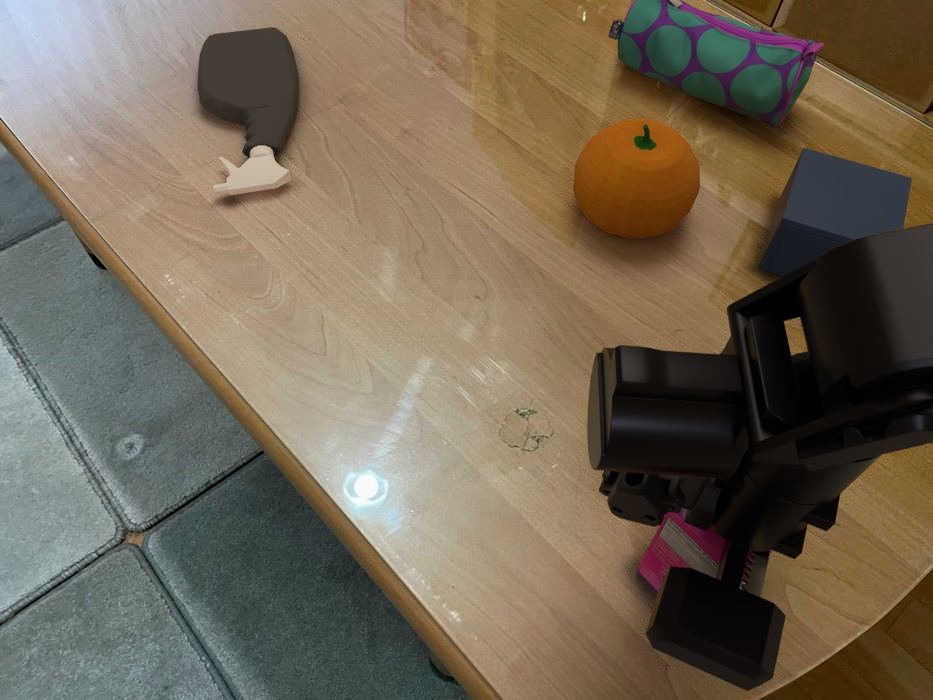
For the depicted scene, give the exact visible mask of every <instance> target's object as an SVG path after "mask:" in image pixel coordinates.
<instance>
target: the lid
mask: <svg viewBox="0 0 933 700" xmlns="http://www.w3.org/2000/svg"><path fill="white" fill-rule="evenodd" d="M798 159H799V161H798V160H797V161H798V164H797V167H796V171H795V174H794V177H793V181H792V184H791V187H790V191H789V194H788V197H787V201H786V204H785V207H784V211H783V214H782V217H781V221H780V224H782V225H786V226H789V227H792V228H795V229H799V230H802V231H805V232H808V233H812V234H815V235H818V236H822V237H825V238H828V239H831V240H835V241H838V242H841V243H846V242H849V241H851V240H854V239H856V238H860V237H864V236H868V235H872V234H878V233H883V232H888V231H893V230H899V229H904V228H905V221H906V214H907V209H908V203H909V198H910V192H911V185H912V181H913V178H912V177H910V176H907V175H903V174H900V173H897V172H893V171H889V170H885V169H882V168H878V167H875V166H871V165H868V164H864V163H861V162H857V161H854V160H850V159H846V158H842V157H839V156H836V155H832V154H830V153H829V154H828V153H825V152H822V151H817V150H814V149H811V148H807V147H803V148H802V150H801V152H800V154H799V157H798Z"/></svg>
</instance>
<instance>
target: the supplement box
mask: <svg viewBox="0 0 933 700" xmlns="http://www.w3.org/2000/svg"><path fill="white" fill-rule="evenodd" d="M686 512H687V509H684V508H682V509H681V512H679V513H673V512H669V513H667V514H666V515H665V516H664V519H663V522H662V524H661V525H659V526H658V528H657V530H656V532H655V534H654V536H653V538H652V540H651V542H650V544H649V545H648V548H647V549H646V551H645V553H644V555H643V557H642V559H641V561H640V563H639V565H638V566H637V568H636V573H638V575H639V576H640V577H641V578H642V579H643V580H644V581H645V582H646V583H647V584H648V585H649V586H650V587H651V588H652V590H653V591H655V593H656V595H657V594H658V591H659V588H660V586H661V583H662V580H663V576H665V574H666V572H667V571H668V569H669V568H670V567H684V568H693V569H695V570H697V571H700V572H702V573H704V574H707V575H709V576H712V577H714V578H716V575H717V572H718V568H719V564H720V560H721V556H722V553H723V549H724V545H725V541H726V540H725V539H724V538H722V537H721V536H720V535H719V534H718V533H717V532H716V531H715V530H714V529H713V526H712V525H711V526H710V528H709V529H708V530H707V531H704V530H701V529H699V528H696V527H694V526H691V525H689V524H687V523H684V519H685V516H686ZM749 552H750V550H749ZM749 552H748V554H749ZM774 553H776V551H773V550H771V551H770V556H769V558H771V556H772V555H773V554H774ZM748 558H752V557H751V556H749V555H748V556H747V559H748ZM747 564H750V563H749V562H747V561H746V565H747ZM746 565H745V567H746ZM746 570H747V571H749V570H748V569H747V568H745V569H744V572H745V571H746ZM744 577H747V576H746V575H744V573H743V577H742V579H743V578H744ZM742 584H746V583H745V582H743V581H741V585H742ZM741 585H740V589H742V588H741ZM742 590H743V589H742Z"/></svg>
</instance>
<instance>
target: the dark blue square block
mask: <svg viewBox="0 0 933 700" xmlns="http://www.w3.org/2000/svg"><path fill="white" fill-rule="evenodd" d="M798 161H799V158H797V161H796V164H795V165H794V167H793V169H792V172H790V175H789V177H788V179H787V181H786V184H785V186H784V187H783V190H782V192H781V194H780V196H779V198H778V200H777V203H776V206H775V209H774V212H773V216H772V220H771V222H770V224H769V225H770V226H769V228H768V232H767V235H766V239H765V241H764V245H763V249H762V251H761V255H760V257H759V258H760V259H759V262H758V264H757V269H759V270H761V271H763V272H764V271H765V272H768V273H771V274H774V275H777V276H780V277H783V276H784V275H786V274H788V273H790V272H792V271H794V270H796V269H798V268H799V267H801V266H803V265H805V264H807V263H809V262H811V261H813V260H815V259H816V258H818V257H820V256H821V255H822V254H824V253H825V252H827V251H829V250H831V249H832V248H834V247H836V246H838V245H841V244H843V243H841V242H838V241H835V240H831V239H828V238H825V237H822V236H818V235H815V234H812V233H808V232H805V231H802V230H799V229H795V228H792V227H789V226H786V225H782V224H780V221H781V217H782V214H783V211H784V207H785V204H786V201H787V197H788V194H789V191H790V187H791V184H792V181H793V177H794V174H795V171H796V167H797V164H798Z"/></svg>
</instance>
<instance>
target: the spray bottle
mask: <svg viewBox="0 0 933 700" xmlns="http://www.w3.org/2000/svg"><path fill="white" fill-rule="evenodd" d="M196 87H197V89H196V90H197V93H198V97H199V101H200V103H201V104H202V106H204V108H205V110H206V111H207V112H209V113H211V114H212V115H214V116H216V117H218V118H220V119H222V120H223V121H226V122H230V123H233V124H236V125H241V126H244V130H245V132H246V133H245V134H244V140H245V143H244V145H243V147H242V150H241V153H242V154H243V156H245V157H247V158H248V159H247V160H246V161H245V162H244V163H243V164H241V166H240V167H237V166H235V164H233V163H232V162H230V161H229V160H228V159H226V158H224V157H222V156H219V157H218V161H219V162H220V163H221V165H222V166H223V167H224V168H225V169H226V171H227V172H228V173H229V175H228V176H227V177H226V182H222V183H217V184H214V185H212V186H213V191H214V194H215V196H220V195H227V194H228V195H229V196H233V195H240V194H246V193H253V192H259V191H266V190H273V189H277V188H278V189H279V187H281V186H283V185H285V184H287V183H289V182H291V181H292V177H291V173H290V170H289V169H288V168H286V167H283V166H282V165H280V164H279V163H278V162H277V161H276V159H275V157H277V156H279V155H280V154H281V152H282V150H283V148H284V145H285V143H286V141H287V139H288V136H289V134H290V132H291V129H292V127H293V125H294V122H295V119H296V116H297V112H298V107H299V101H300V77H299V71H298V66H297V61H296V56H295V52H294V50H293V48H292V45H291V42H290V40H289V38H288V36H287V35H286V34H285V33H284V32H283V31H281V30H280V29H278V27H274V26H270V27H263V28H261V27H260V28H254V29H253V28H252V29H244V30H236V31H227V32H219V33H213V34H209V35H208V36H207V37H206V39H205V41H204V42H203V44H202V46H201V49H200V52H199V58H198V68H197V86H196Z"/></svg>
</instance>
